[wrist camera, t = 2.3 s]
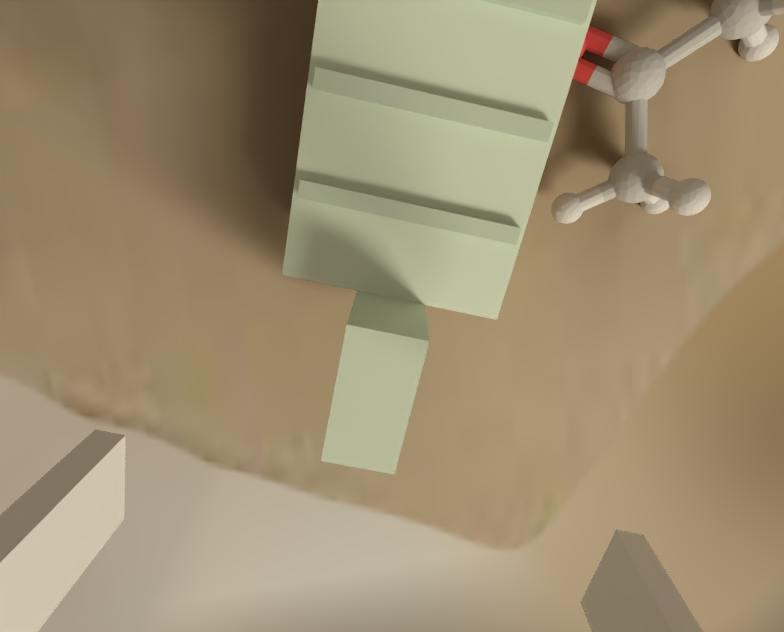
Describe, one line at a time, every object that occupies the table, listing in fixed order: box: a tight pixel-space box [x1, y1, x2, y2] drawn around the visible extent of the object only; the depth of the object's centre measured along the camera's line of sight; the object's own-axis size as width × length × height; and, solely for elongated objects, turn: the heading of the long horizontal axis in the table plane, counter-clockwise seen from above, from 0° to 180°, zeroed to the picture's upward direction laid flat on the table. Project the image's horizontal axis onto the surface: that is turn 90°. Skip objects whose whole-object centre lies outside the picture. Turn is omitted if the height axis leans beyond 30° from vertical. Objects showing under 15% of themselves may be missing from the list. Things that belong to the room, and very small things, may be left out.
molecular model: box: [551, 0, 784, 224], centre depth 22 cm, size 14×8×10 cm
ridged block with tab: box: [282, 0, 597, 474], centre depth 17 cm, size 10×22×5 cm, turn 168°
